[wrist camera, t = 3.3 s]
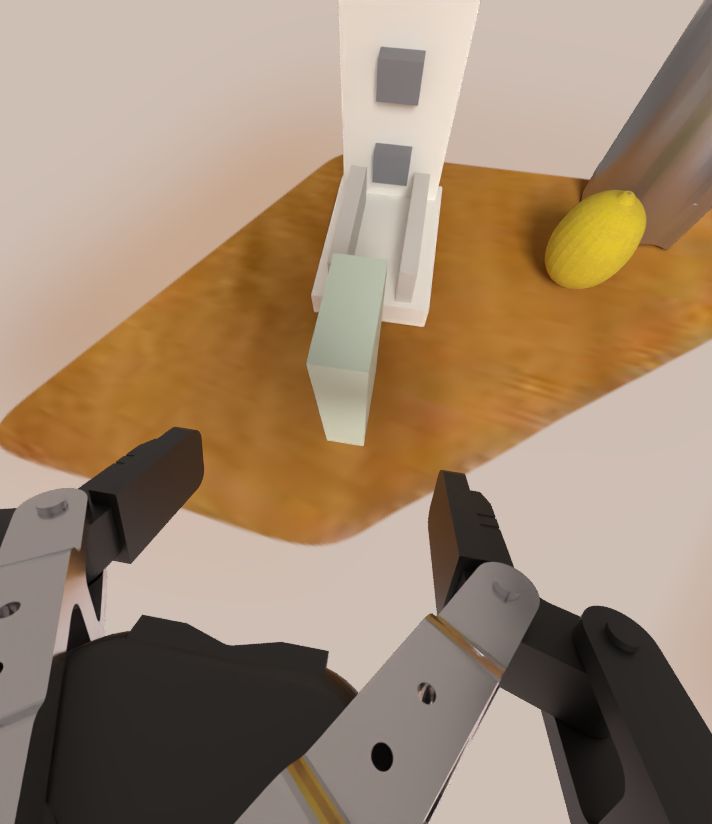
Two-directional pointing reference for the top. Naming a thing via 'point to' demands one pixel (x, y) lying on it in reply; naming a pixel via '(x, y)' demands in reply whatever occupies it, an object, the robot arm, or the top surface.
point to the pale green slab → (347, 345)
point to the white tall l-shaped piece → (396, 139)
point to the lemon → (595, 239)
